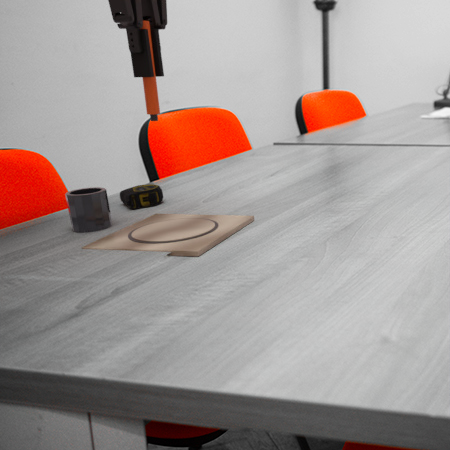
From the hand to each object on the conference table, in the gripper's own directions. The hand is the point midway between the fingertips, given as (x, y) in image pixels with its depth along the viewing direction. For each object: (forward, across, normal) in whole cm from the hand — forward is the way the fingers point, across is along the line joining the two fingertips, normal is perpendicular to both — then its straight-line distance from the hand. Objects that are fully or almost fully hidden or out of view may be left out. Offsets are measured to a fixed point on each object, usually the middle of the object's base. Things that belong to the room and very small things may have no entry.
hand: (149, 76), depth 83 cm
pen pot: (+24, -1, +13) cm, 27 cm away
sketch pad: (+24, -2, -2) cm, 24 cm away
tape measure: (+24, +13, +14) cm, 31 cm away
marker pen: (+6, 0, 0) cm, 6 cm away
